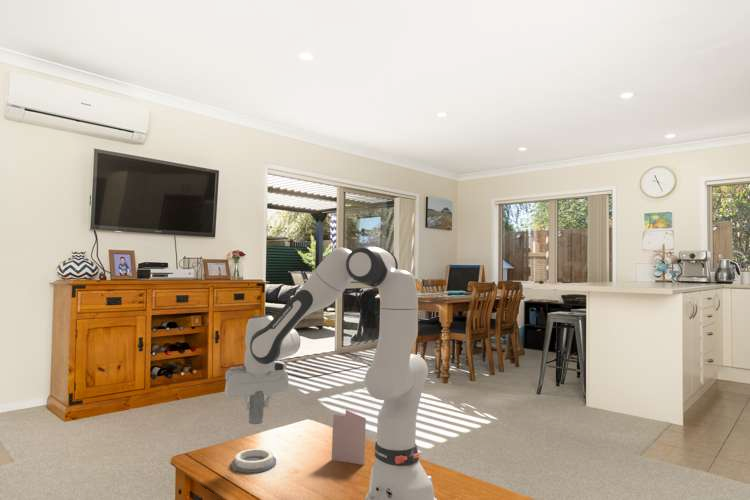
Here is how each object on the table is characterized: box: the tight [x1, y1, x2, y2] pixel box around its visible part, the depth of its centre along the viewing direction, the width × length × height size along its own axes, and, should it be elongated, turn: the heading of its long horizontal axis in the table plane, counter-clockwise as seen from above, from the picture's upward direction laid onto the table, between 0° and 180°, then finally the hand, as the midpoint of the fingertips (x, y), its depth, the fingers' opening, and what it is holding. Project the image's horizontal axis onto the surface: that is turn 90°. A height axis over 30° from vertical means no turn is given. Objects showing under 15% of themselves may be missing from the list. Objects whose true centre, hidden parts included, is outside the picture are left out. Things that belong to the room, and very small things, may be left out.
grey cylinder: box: [248, 391, 265, 425], centre depth 156 cm, size 4×4×10 cm
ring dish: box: [231, 448, 277, 474], centre depth 155 cm, size 14×14×3 cm
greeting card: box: [331, 409, 367, 466], centre depth 160 cm, size 11×7×15 cm, turn 38°
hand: (256, 408), depth 155 cm, fingers closed on grey cylinder, 5 cm apart
